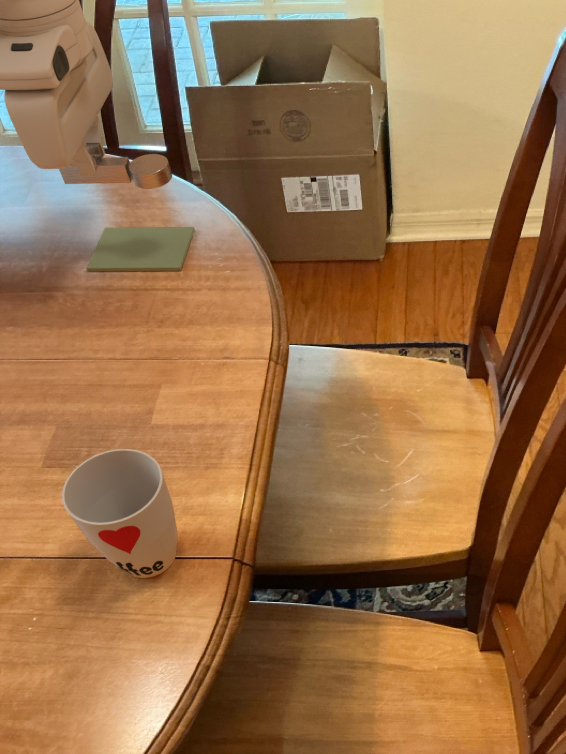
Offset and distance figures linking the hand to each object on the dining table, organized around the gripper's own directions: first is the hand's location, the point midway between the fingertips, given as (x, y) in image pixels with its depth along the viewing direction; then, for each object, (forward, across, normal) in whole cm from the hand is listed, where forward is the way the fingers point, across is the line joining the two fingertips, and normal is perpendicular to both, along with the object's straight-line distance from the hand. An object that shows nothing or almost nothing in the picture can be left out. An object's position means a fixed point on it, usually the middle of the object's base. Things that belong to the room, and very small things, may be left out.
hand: (93, 165), depth 91 cm
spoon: (+2, 0, +3) cm, 3 cm away
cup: (+11, +48, +14) cm, 51 cm away
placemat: (+11, 0, +2) cm, 11 cm away
